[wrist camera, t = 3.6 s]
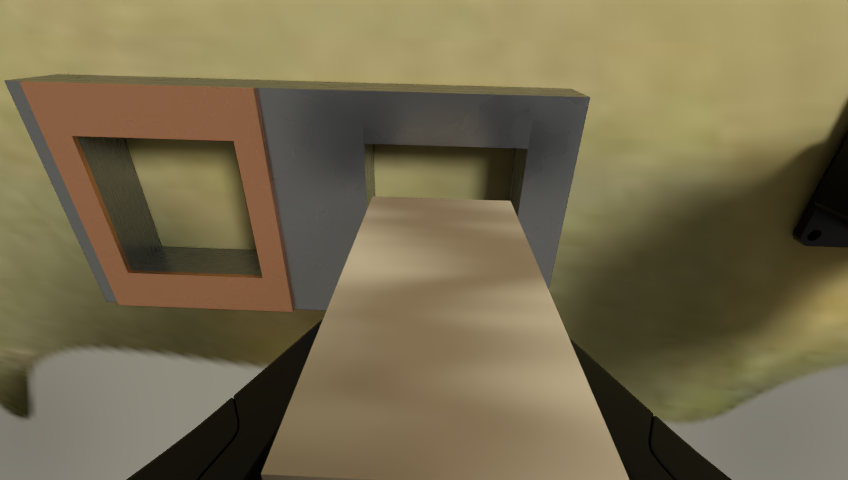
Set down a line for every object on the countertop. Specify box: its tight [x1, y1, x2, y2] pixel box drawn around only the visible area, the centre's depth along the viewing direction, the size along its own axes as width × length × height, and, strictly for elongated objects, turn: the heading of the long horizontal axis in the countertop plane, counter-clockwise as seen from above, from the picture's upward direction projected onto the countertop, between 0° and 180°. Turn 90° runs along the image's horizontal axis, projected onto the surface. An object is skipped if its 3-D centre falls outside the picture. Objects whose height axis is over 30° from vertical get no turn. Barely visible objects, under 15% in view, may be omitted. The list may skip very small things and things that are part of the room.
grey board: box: [4, 74, 590, 312], centre depth 15 cm, size 19×9×2 cm, turn 89°
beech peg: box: [261, 196, 629, 480], centre depth 9 cm, size 4×4×8 cm
